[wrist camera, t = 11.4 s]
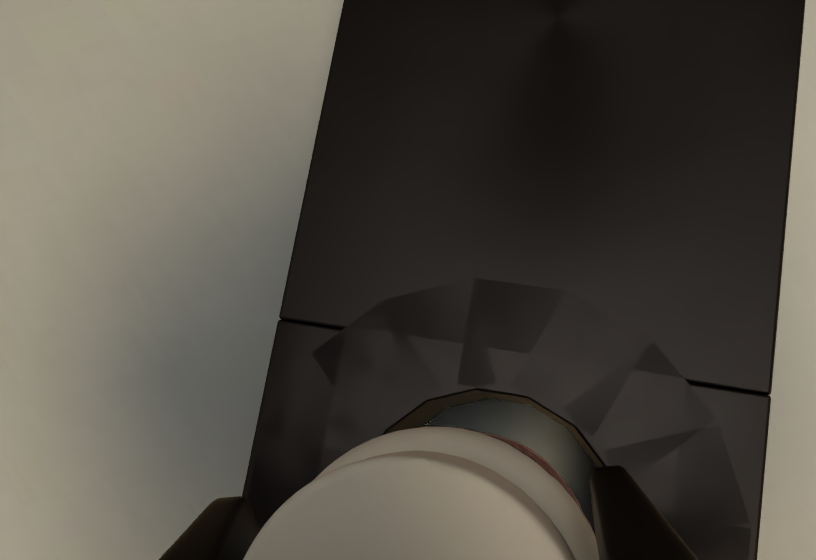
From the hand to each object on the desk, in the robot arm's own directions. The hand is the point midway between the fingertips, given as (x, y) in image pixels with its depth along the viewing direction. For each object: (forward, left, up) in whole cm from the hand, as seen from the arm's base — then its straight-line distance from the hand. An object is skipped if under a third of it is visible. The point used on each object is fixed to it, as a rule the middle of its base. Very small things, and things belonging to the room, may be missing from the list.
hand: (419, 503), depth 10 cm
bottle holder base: (+7, +2, -12) cm, 14 cm away
